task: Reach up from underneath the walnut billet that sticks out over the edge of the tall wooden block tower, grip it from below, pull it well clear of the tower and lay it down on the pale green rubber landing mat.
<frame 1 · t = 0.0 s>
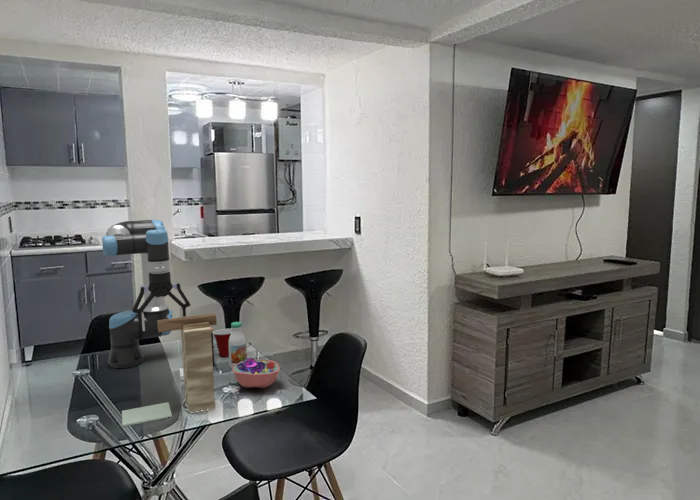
hand: (163, 327, 193), 28 cm above the table, tool pointing down, fingers open, 13 cm apart
coffee jar: (202, 369, 226), on the table
milk bottle: (238, 367, 229), on the table
landing mat: (146, 414, 184), on the table
wooden block tower: (199, 404, 191), on the table
cell model: (257, 386, 207), on the table
plastic cup: (225, 355, 244), on the table
billet: (187, 327, 186), point 30 cm above the table, touching wooden block tower
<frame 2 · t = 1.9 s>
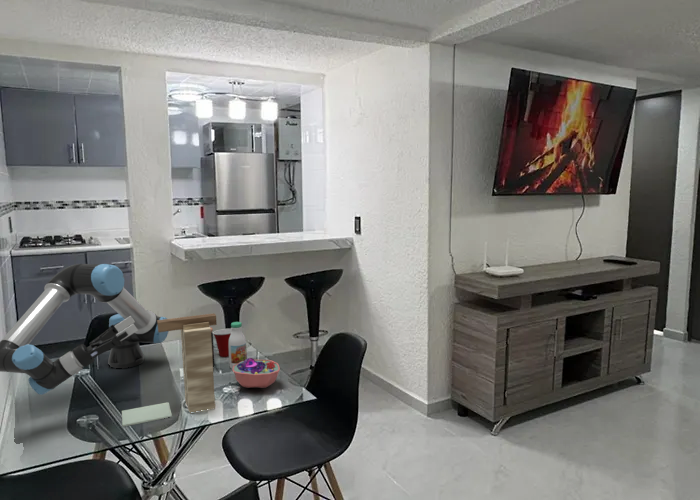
hand: (134, 322, 185), 32 cm above the table, tool pointing upward, fingers open, 13 cm apart
nothing on the table moved.
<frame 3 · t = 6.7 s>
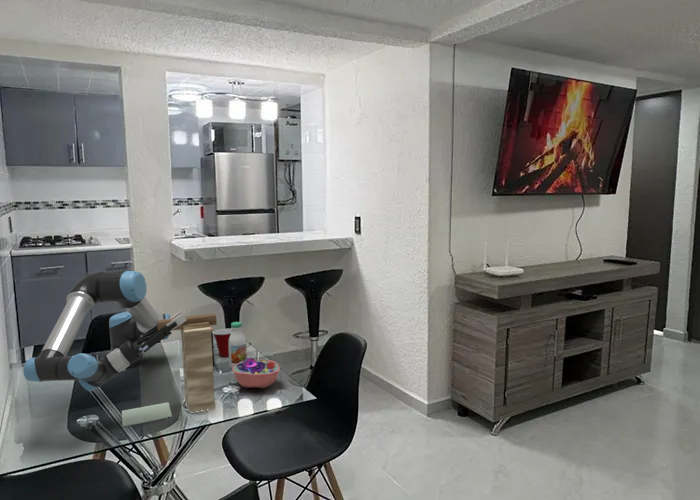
hand: (183, 315, 185), 34 cm above the table, tool pointing upward, fingers closed on billet, 3 cm apart
billet: (187, 327, 186), point 30 cm above the table, touching gripper
everything else where it was.
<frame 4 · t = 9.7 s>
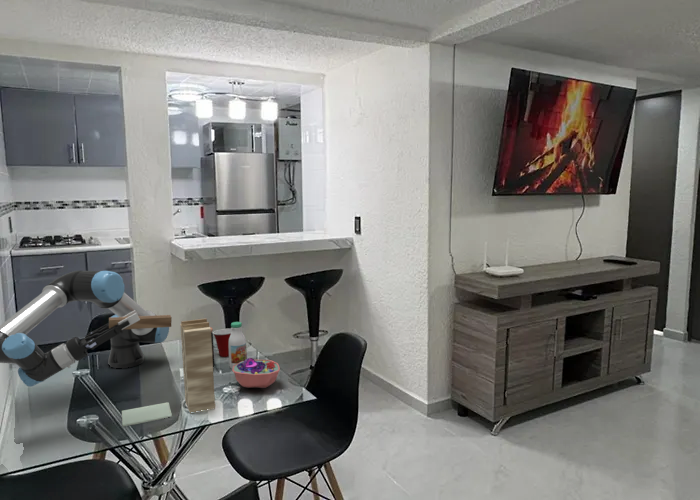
hand: (137, 314, 179), 37 cm above the table, tool pointing upward, fingers closed on billet, 3 cm apart
billet: (140, 327, 180), point 32 cm above the table, tilted 5°, touching gripper
everything else where it was.
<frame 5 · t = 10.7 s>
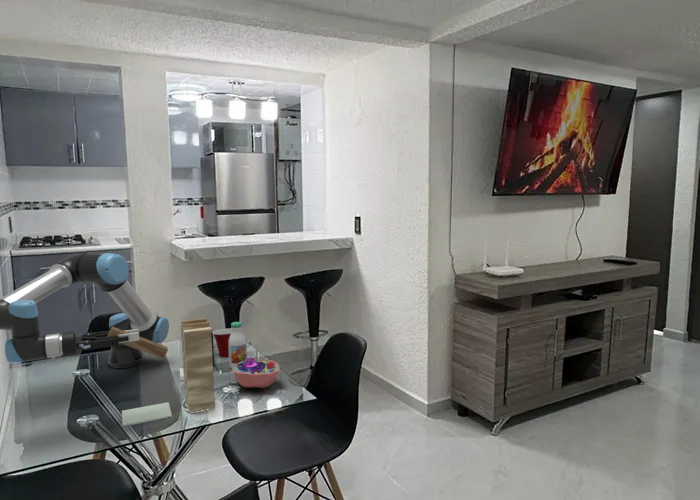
hand: (138, 334, 179), 30 cm above the table, tool horizontal, fingers closed on billet, 3 cm apart
billet: (135, 347, 179), point 25 cm above the table, tilted 30°, touching gripper
everything else where it was.
when the fingers open (13 cm above the table, at t = 12.7 s): billet drops 8 cm, resting on landing mat.
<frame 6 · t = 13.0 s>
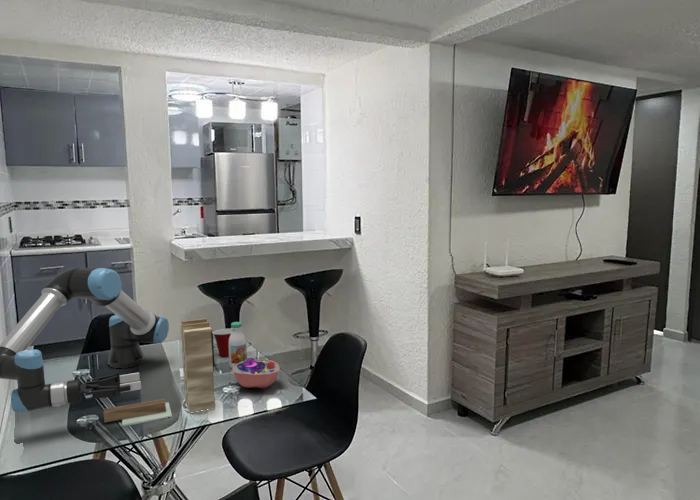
hand: (140, 380, 181), 13 cm above the table, tool horizontal, fingers open, 8 cm apart
billet: (135, 414, 182), point 1 cm above the table, touching landing mat
everything else where it was.
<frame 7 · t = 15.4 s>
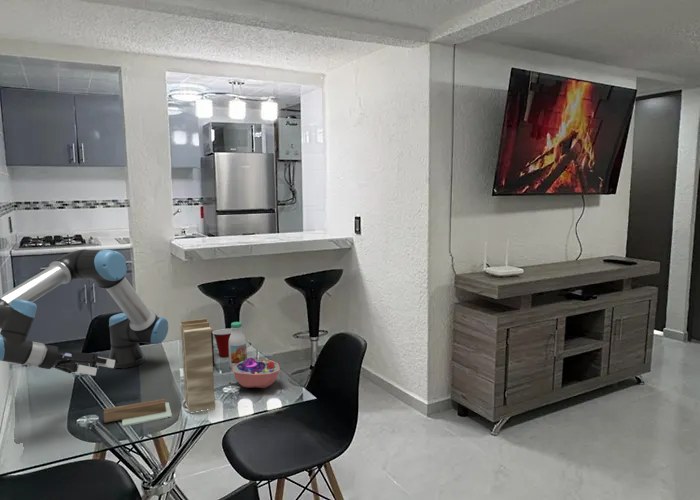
hand: (104, 368, 183), 17 cm above the table, tool tilted 65°, fingers open, 13 cm apart
nothing on the table moved.
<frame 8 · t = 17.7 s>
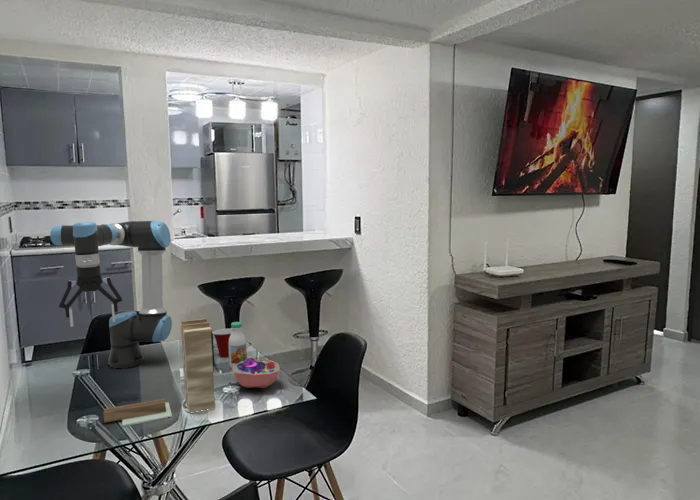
hand: (93, 323, 187), 32 cm above the table, tool pointing down, fingers open, 13 cm apart
nothing on the table moved.
at the end: billet inside the target area (2.5 cm from its centre), point 0.6 cm above the table; billet touching landing mat; the gripper is holding nothing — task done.
